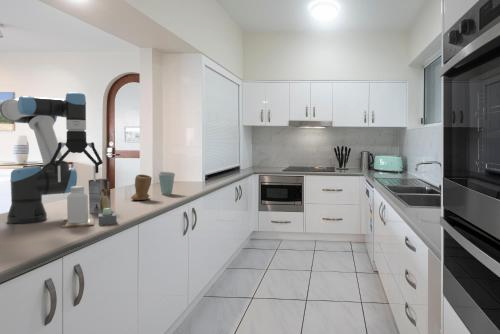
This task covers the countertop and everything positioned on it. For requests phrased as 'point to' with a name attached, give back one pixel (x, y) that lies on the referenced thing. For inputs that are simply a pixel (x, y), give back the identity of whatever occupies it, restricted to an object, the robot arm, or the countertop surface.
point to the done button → (106, 211)
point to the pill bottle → (77, 205)
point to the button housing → (107, 219)
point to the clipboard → (88, 223)
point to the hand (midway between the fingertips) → (77, 181)
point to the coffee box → (99, 195)
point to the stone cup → (142, 187)
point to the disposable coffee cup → (166, 182)
